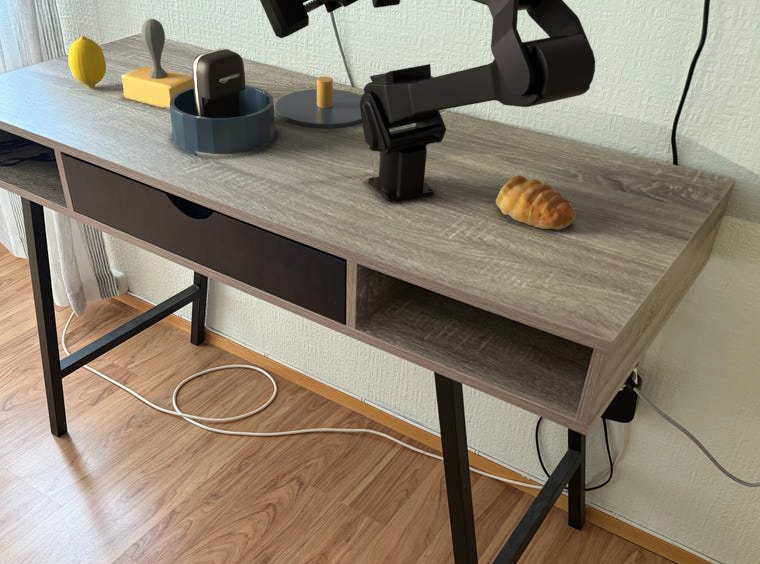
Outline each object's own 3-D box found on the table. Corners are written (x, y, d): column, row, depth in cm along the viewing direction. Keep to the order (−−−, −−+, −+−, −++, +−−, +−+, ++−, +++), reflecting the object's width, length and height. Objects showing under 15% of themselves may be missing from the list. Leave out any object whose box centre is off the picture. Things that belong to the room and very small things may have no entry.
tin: (288, 149, 113) (288, 111, 110) (188, 163, 109) (184, 125, 105) (256, 114, 124) (254, 79, 121) (163, 126, 119) (159, 89, 116)
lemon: (66, 91, 130) (57, 39, 125) (85, 80, 134) (76, 29, 129) (97, 95, 128) (89, 43, 123) (115, 84, 133) (108, 33, 128)
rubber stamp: (197, 100, 128) (190, 20, 120) (173, 111, 124) (164, 29, 116) (148, 88, 131) (138, 9, 124) (123, 98, 127) (111, 18, 120)
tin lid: (390, 124, 122) (392, 89, 119) (295, 137, 117) (295, 101, 114) (349, 91, 133) (350, 59, 130) (262, 102, 128) (260, 69, 125)
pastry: (584, 221, 98) (591, 192, 96) (552, 240, 94) (558, 210, 92) (521, 195, 104) (525, 167, 101) (488, 212, 100) (492, 183, 97)
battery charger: (214, 145, 113) (207, 61, 106) (196, 138, 115) (189, 55, 108) (251, 132, 117) (247, 50, 110) (234, 125, 119) (229, 44, 112)
